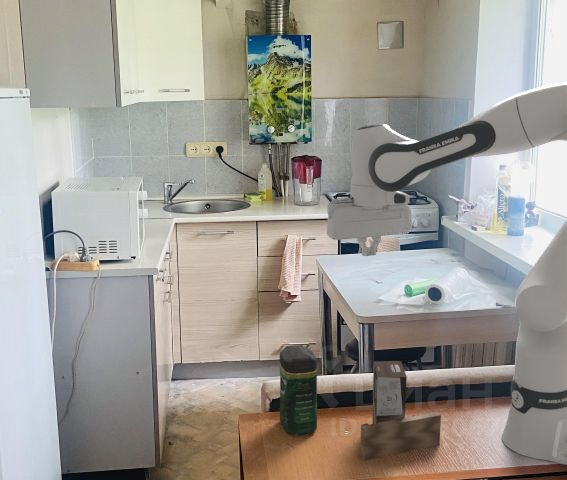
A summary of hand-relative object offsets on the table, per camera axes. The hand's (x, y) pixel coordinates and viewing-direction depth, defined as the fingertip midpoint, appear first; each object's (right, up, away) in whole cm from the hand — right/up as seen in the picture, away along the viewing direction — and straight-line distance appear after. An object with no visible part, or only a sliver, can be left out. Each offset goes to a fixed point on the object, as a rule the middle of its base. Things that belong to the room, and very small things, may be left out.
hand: (368, 255), depth 159 cm
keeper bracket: (+4, -41, -12) cm, 43 cm away
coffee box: (+3, -40, -8) cm, 41 cm away
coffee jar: (-16, -39, -3) cm, 42 cm away
